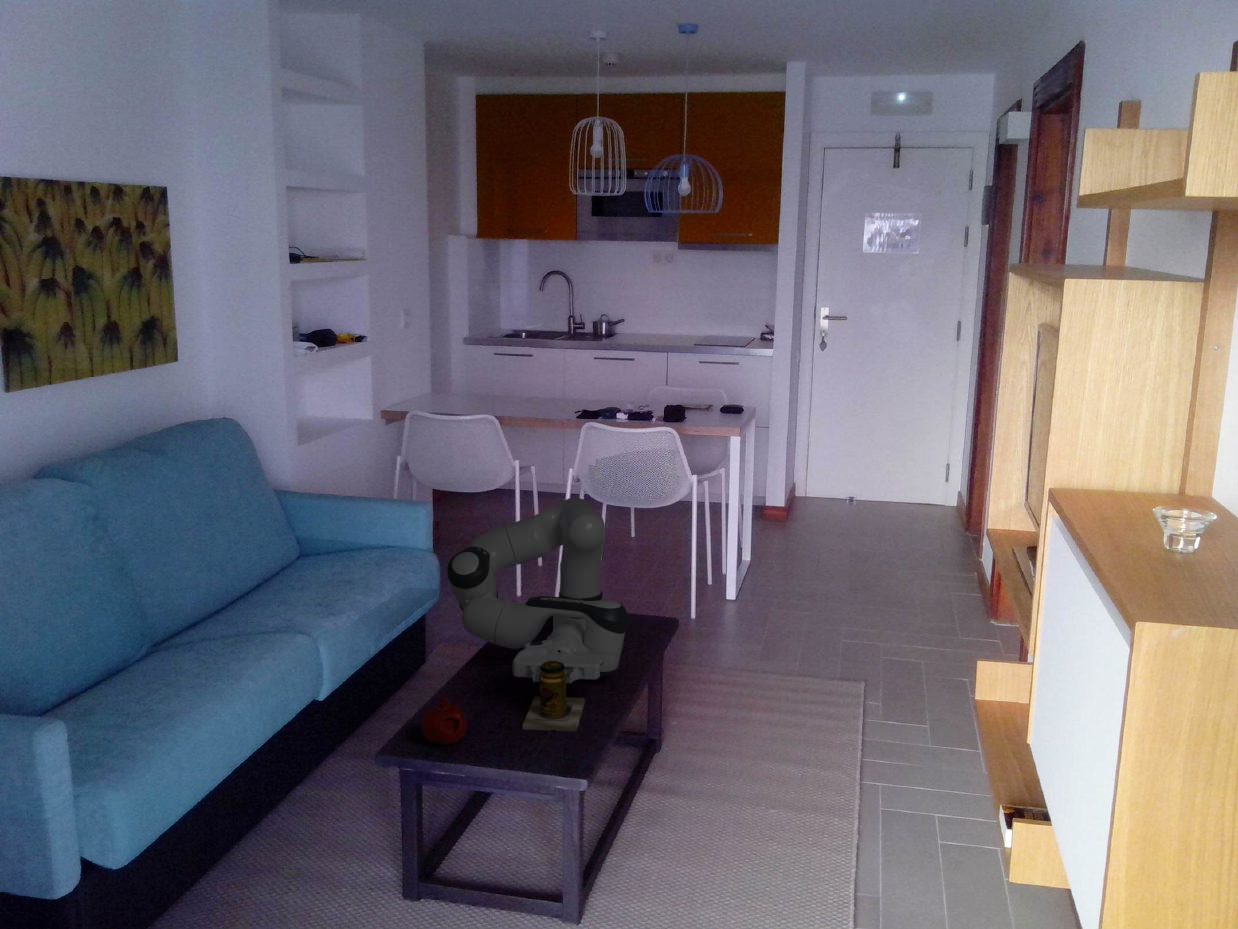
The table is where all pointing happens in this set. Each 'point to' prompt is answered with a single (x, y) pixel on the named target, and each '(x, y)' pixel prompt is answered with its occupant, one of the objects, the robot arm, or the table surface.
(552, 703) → the condiment
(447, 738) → the pomegranate
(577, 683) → the table surface
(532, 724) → the board
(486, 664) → the table surface
